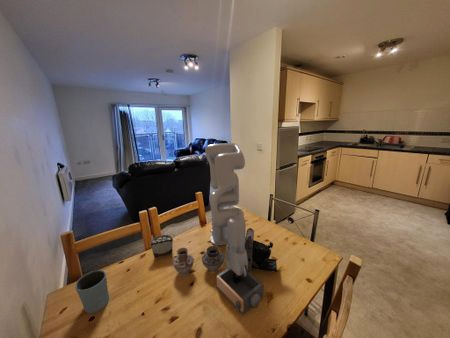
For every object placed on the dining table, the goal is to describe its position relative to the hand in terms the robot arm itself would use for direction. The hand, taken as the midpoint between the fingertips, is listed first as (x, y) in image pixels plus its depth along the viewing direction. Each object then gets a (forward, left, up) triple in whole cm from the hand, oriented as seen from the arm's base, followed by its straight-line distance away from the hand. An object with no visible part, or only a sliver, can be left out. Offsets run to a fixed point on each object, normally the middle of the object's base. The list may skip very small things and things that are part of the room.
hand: (236, 281), depth 84 cm
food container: (-43, -16, -3) cm, 46 cm away
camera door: (+3, -8, -1) cm, 8 cm away
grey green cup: (-31, -49, -3) cm, 58 cm away
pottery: (-19, -7, -3) cm, 21 cm away
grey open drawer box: (+4, -1, -3) cm, 5 cm away
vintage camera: (0, +16, -3) cm, 16 cm away
